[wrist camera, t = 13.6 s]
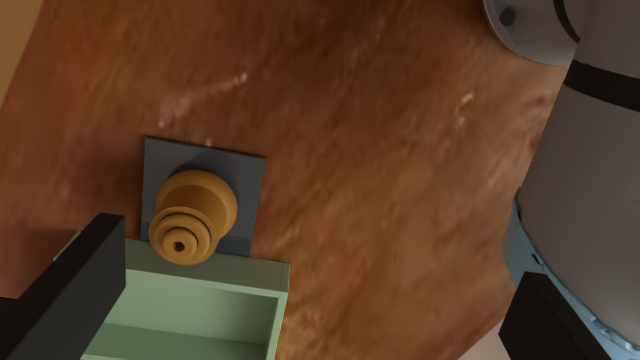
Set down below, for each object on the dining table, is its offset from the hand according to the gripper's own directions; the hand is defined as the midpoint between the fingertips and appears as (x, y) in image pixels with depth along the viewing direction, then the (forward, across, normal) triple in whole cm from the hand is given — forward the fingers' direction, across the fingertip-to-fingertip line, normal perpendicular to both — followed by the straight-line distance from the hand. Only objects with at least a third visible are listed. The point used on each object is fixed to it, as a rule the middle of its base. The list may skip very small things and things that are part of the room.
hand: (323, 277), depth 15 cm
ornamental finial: (+27, -10, -12) cm, 31 cm away
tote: (+27, -11, -24) cm, 38 cm away
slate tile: (+27, -10, -12) cm, 31 cm away
